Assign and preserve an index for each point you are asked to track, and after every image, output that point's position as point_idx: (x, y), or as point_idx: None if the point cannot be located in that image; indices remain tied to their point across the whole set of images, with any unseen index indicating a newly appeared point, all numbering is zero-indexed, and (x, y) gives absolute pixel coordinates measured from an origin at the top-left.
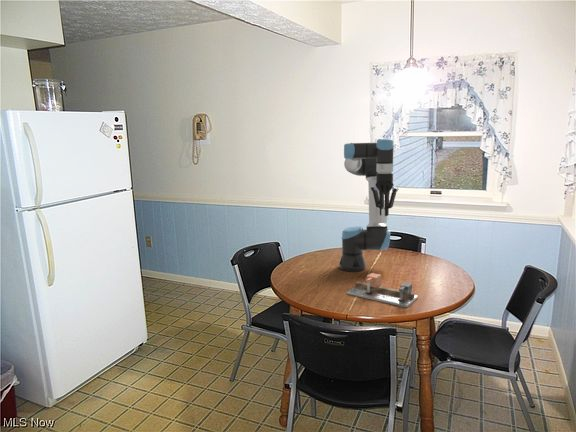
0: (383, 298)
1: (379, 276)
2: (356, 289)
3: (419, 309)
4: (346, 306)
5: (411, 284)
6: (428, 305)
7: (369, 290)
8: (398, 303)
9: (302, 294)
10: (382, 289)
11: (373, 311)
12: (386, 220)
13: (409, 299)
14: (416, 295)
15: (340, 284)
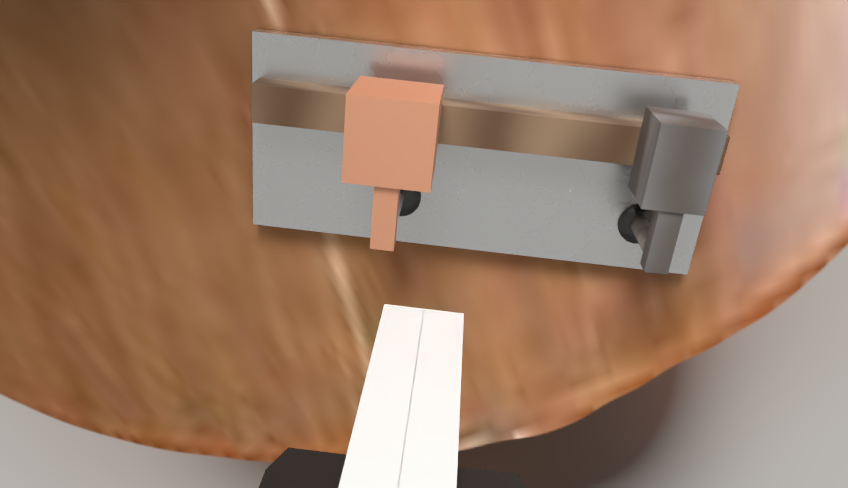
0: (518, 235)
1: (436, 131)
2: (290, 165)
3: (761, 251)
4: (344, 375)
5: (722, 144)
6: (817, 168)
7: (401, 206)
8: (629, 267)
9: (30, 327)
10: (479, 146)
11: (506, 376)
12: (461, 349)
13: None
14: (731, 87)
15: (118, 65)
